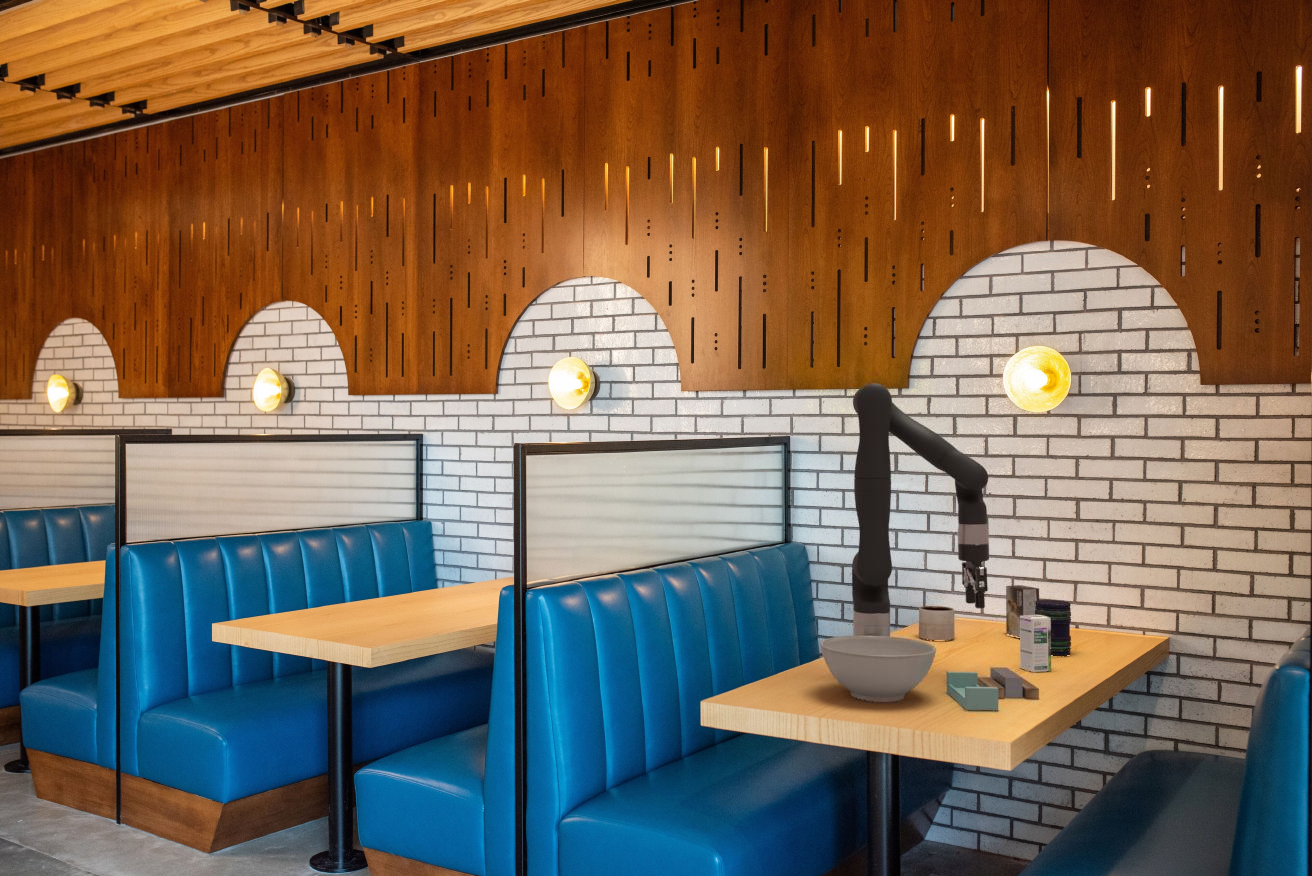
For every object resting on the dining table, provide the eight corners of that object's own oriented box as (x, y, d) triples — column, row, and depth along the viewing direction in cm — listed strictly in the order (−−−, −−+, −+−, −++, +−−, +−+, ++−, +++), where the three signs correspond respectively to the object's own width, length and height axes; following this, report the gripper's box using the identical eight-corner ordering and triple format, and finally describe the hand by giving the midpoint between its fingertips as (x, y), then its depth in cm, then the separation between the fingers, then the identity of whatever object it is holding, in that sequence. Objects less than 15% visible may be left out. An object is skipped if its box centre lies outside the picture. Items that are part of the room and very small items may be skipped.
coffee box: (1040, 639, 322) (1040, 588, 323) (1023, 640, 320) (1023, 588, 321) (1021, 634, 331) (1021, 584, 331) (1005, 635, 329) (1005, 585, 329)
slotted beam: (991, 698, 242) (991, 688, 242) (977, 687, 254) (977, 677, 254) (1038, 699, 241) (1038, 688, 241) (1022, 687, 253) (1022, 677, 253)
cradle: (966, 710, 230) (966, 688, 230) (946, 692, 248) (946, 671, 248) (998, 711, 230) (998, 688, 230) (975, 692, 248) (975, 671, 248)
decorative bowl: (957, 697, 243) (957, 645, 244) (894, 716, 225) (895, 660, 225) (862, 679, 263) (862, 631, 263) (797, 695, 244) (797, 644, 244)
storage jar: (1036, 656, 295) (1036, 603, 295) (1032, 650, 305) (1032, 599, 305) (1073, 657, 293) (1073, 605, 293) (1068, 651, 302) (1068, 600, 303)
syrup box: (1033, 673, 271) (1032, 617, 272) (1019, 668, 277) (1019, 614, 277) (1051, 671, 273) (1051, 617, 273) (1037, 667, 279) (1037, 613, 279)
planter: (917, 640, 319) (917, 609, 319) (919, 635, 329) (919, 605, 329) (954, 642, 316) (954, 611, 316) (954, 637, 326) (954, 606, 326)
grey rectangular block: (1005, 698, 243) (1005, 677, 243) (990, 687, 255) (990, 667, 255) (1022, 699, 243) (1022, 677, 243) (1006, 687, 255) (1006, 667, 255)
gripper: (951, 539, 269) (953, 602, 268) (966, 544, 254) (968, 610, 254) (980, 539, 269) (981, 601, 268) (996, 543, 254) (998, 609, 254)
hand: (975, 605), depth 261 cm, fingers open, 8 cm apart
